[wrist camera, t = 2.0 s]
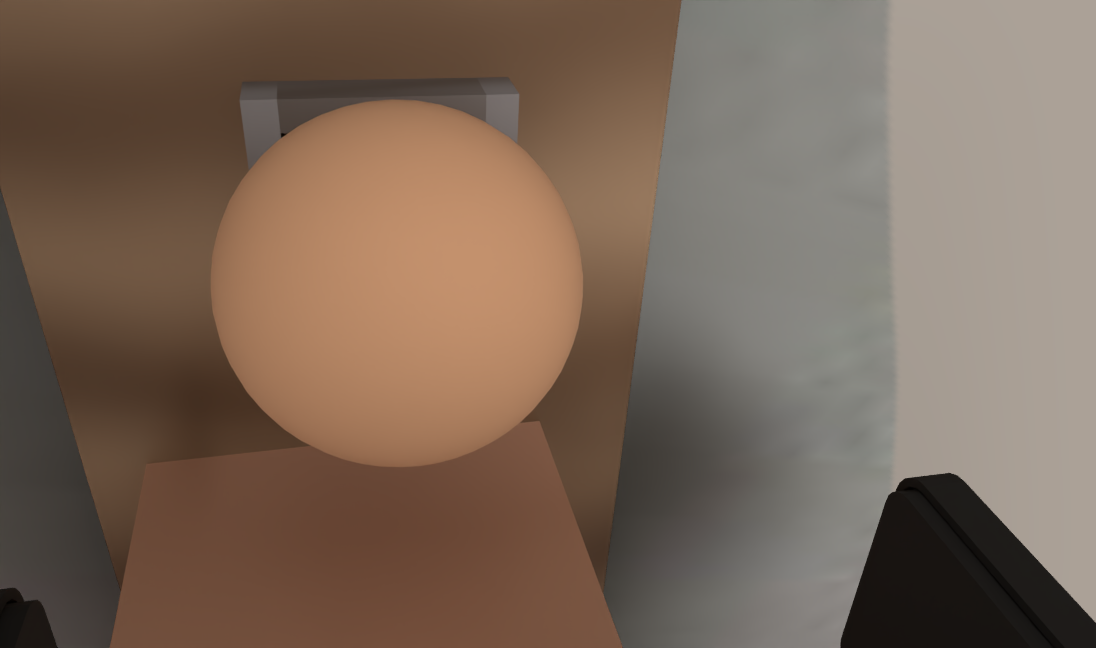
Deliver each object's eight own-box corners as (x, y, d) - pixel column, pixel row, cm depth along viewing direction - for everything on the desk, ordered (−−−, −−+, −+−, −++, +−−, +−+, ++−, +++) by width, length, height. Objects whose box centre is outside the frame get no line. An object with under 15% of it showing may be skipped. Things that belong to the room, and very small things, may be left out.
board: (-37, -31, 15) (-82, 0, 13) (660, -24, 18) (702, 2, 16) (215, 864, 30) (210, 934, 29) (564, 790, 33) (580, 850, 31)
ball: (199, 54, 15) (154, 206, 10) (545, 50, 16) (654, 181, 11) (244, 349, 18) (227, 573, 13) (530, 325, 19) (611, 520, 15)
